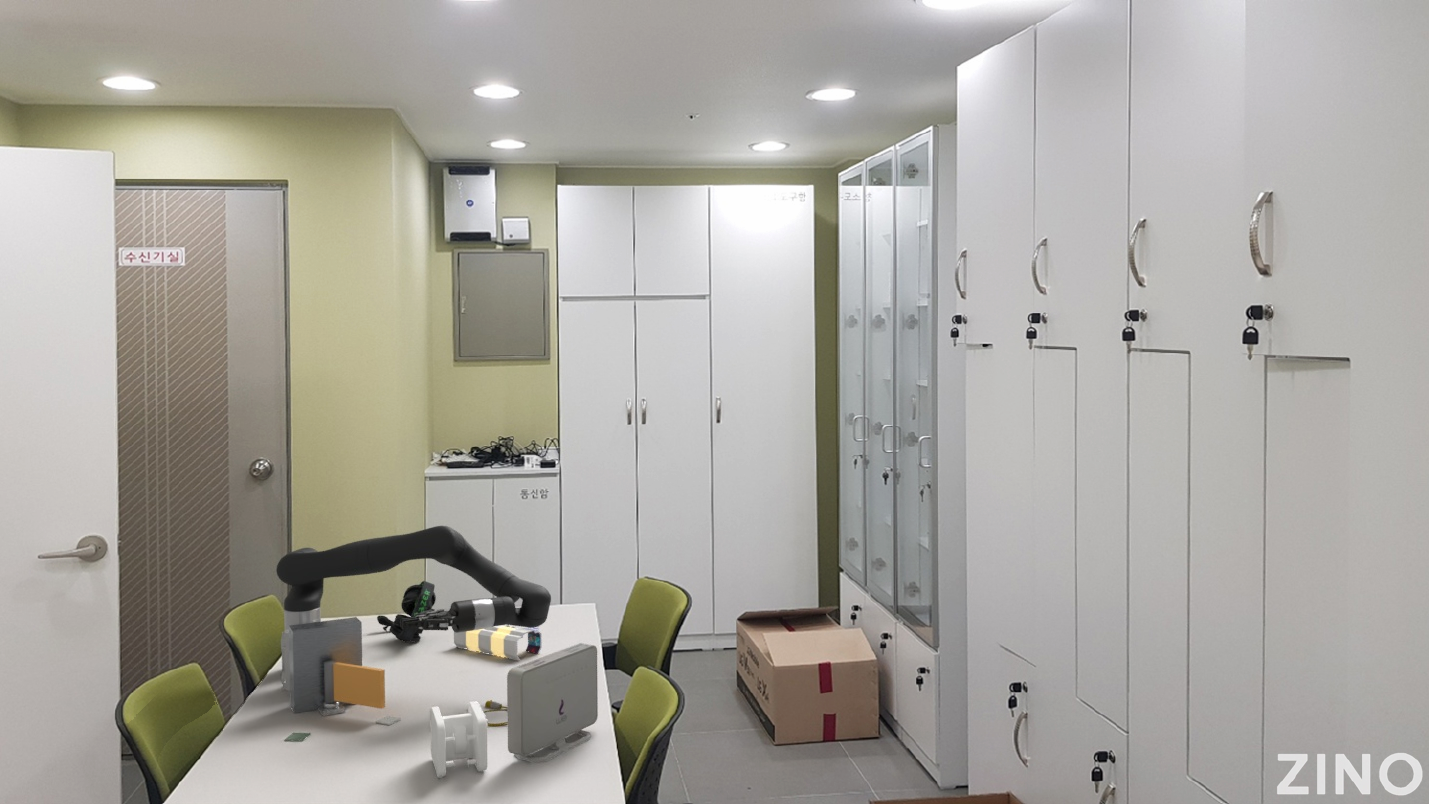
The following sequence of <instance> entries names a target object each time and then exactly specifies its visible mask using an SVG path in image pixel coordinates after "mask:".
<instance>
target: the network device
mask: <svg viewBox="0 0 1429 804" xmlns="http://www.w3.org/2000/svg"><path fill="white" fill-rule="evenodd" d="M506 683H507V684H506V687H507V688H506V692H507V693H506V695H507V698H506V699H507V705H506V707H507V708H506V709H507V722H508V725H507V751H508V752H509V754H514V756H515V758H518V759H520V760H524V761H527V762H530V763H543V762H547V761H550V760H552V759H554V758H555V757H558V756H559V755H562V754H564V753H566V752H567V751H570V750H571V749H574V748H575V747H578V746H580V745H582V744H583V743H586V742H588V741H589V740H591V738H592V733H591V732H589V731H587V730H584V729H586V728H588V727H590V726H592V725H594V724H596V723H597V720H598V715H599V714H598V713H599V712H598V709H599V707H598V706H599V705H598V702H599V701H598V699H599V698H598V648H597V646H596V645H593V644H588V643H583V642H579V643H577V644H574V645H571V646H569V647H565V648H563V649H560V650H557V651H554V652H552V653H550V654H546V655H544V656H542V657H539V658H536V659H534V660H531V661H528V662H525V663H523V664H520V665H517V666H514V667H512V668H510V669H509V671H508V673H507V676H506ZM574 734H575V735H580V736H583V737H582V738H579V739H577V740H576V741H573V742H566V738H567V737H570V736H571V735H574ZM545 748H548V749H552V750H555V751H553V752H551V753H549V754H547V755H545V756H542V757H537V756H534V755H533V754H534V753H536V752H538V751H541V750H542V749H545ZM531 754H532V755H531Z"/></svg>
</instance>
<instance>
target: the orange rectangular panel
mask: <svg viewBox="0 0 1429 804" xmlns="http://www.w3.org/2000/svg"><path fill="white" fill-rule="evenodd" d="M385 678H386V677H385V669H383V668H377V667H371V666H365V665H362V666H358V665H352V664H345V663H339V662H337V661H335V660H331V661H326V662H324V683H325V702H326V703H334V702H337V701H340V702H346V703H351V704H350V705H353V704H354V705H358V706H364V707H370V708H375V709H381V710H382V709H385V708H386V684H385Z"/></svg>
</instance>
